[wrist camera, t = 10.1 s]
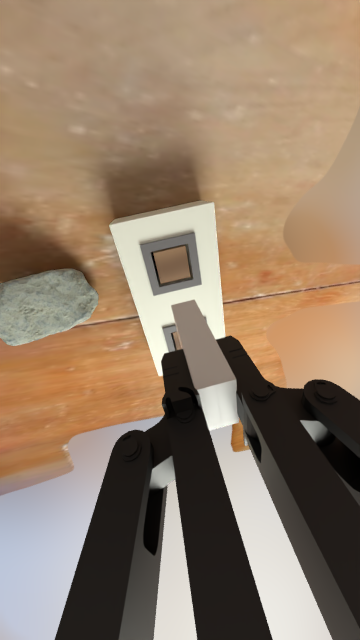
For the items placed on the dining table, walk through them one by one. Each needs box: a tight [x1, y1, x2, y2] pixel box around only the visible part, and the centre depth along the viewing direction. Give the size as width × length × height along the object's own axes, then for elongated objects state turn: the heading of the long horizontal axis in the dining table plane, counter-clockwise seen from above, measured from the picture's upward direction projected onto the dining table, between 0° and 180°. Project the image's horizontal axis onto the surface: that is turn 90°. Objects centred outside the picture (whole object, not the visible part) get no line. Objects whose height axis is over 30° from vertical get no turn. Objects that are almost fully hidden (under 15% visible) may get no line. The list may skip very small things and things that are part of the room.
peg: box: [153, 245, 190, 284], centre depth 30 cm, size 4×4×6 cm
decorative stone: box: [0, 268, 99, 346], centre depth 30 cm, size 13×11×10 cm
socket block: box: [109, 200, 225, 376], centre depth 33 cm, size 24×12×6 cm, turn 10°
